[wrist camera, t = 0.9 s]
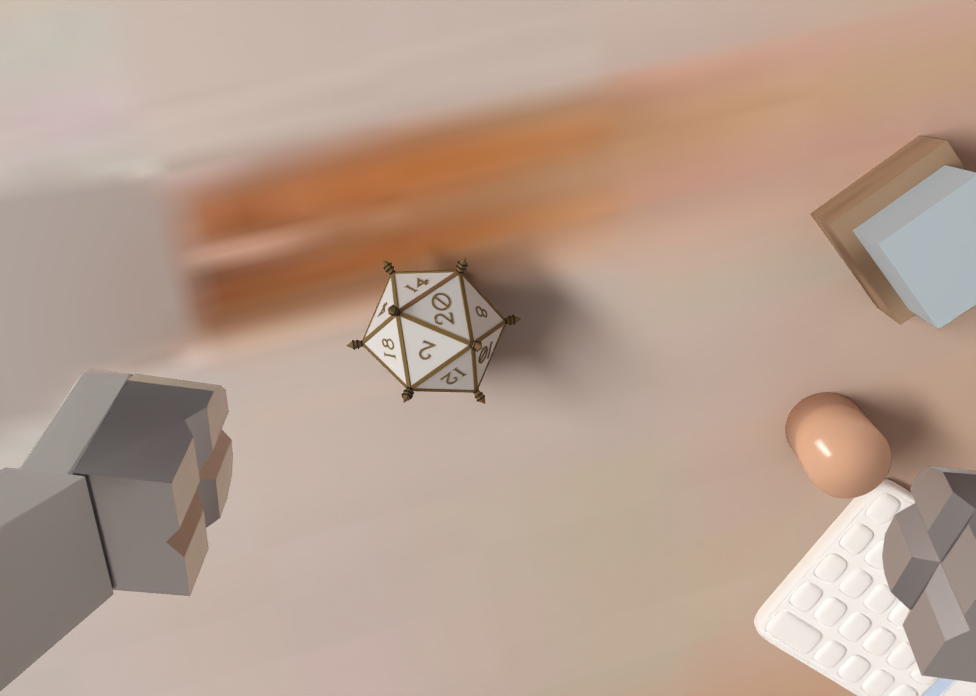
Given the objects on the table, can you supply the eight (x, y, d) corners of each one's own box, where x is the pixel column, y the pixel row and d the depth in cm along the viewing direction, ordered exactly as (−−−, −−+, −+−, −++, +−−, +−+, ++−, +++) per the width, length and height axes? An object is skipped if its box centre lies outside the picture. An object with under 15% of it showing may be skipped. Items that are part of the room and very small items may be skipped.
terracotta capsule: (876, 434, 55) (907, 468, 50) (812, 475, 56) (836, 512, 51) (835, 377, 54) (862, 407, 49) (770, 420, 55) (791, 453, 51)
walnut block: (983, 233, 51) (1017, 246, 47) (875, 306, 53) (900, 324, 49) (917, 135, 50) (947, 140, 46) (809, 213, 52) (829, 224, 48)
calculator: (874, 466, 56) (885, 480, 54) (1122, 624, 58) (1140, 642, 56) (744, 618, 60) (750, 635, 58) (981, 761, 62) (994, 782, 60)
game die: (422, 284, 58) (333, 230, 49) (544, 281, 54) (471, 222, 46) (403, 420, 56) (308, 390, 48) (528, 428, 53) (450, 395, 44)
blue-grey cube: (1000, 247, 48) (1039, 262, 44) (908, 309, 49) (938, 329, 45) (945, 165, 47) (979, 173, 43) (852, 230, 48) (877, 244, 44)
